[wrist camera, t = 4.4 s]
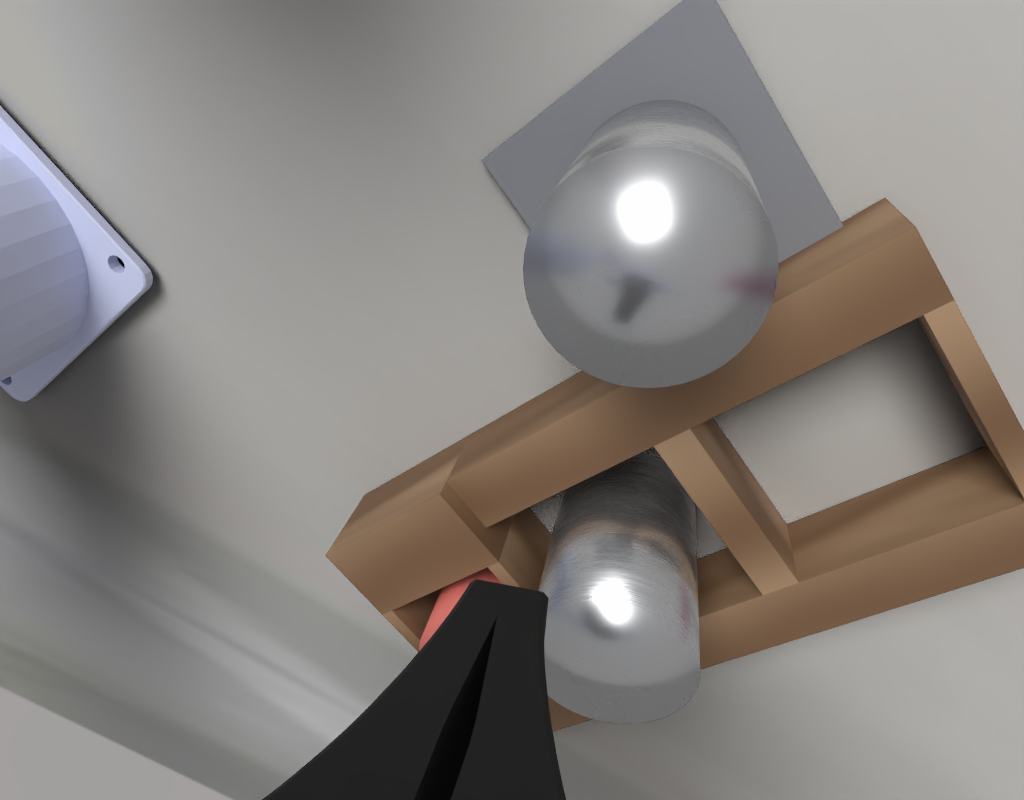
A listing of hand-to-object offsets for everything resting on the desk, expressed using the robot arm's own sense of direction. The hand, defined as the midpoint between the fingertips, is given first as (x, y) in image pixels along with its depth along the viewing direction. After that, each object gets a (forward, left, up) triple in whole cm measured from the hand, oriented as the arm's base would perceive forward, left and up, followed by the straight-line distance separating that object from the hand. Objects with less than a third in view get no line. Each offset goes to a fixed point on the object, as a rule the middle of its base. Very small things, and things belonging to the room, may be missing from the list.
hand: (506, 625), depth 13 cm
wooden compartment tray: (+4, +1, -8) cm, 9 cm away
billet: (-4, +5, -8) cm, 10 cm away
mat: (-4, +5, -8) cm, 10 cm away
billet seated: (+4, -1, -8) cm, 9 cm away
